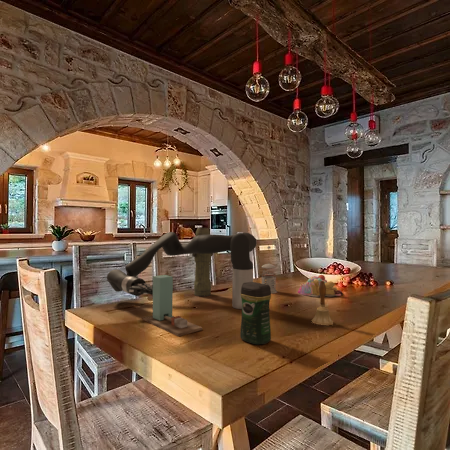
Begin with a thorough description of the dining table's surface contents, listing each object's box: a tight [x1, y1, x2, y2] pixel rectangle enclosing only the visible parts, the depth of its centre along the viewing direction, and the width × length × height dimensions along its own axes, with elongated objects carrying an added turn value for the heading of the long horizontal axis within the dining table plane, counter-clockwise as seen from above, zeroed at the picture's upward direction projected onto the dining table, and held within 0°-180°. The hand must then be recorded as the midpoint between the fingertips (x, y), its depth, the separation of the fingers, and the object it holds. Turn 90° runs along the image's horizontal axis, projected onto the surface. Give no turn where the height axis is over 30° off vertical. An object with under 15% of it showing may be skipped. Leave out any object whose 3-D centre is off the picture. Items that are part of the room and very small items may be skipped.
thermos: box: [191, 227, 214, 297], centre depth 170 cm, size 9×12×35 cm
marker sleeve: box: [152, 274, 174, 321], centre depth 124 cm, size 5×6×16 cm
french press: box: [261, 246, 278, 294], centre depth 178 cm, size 10×12×25 cm
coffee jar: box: [239, 281, 272, 345], centre depth 104 cm, size 10×8×19 cm
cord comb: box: [142, 315, 203, 337], centre depth 119 cm, size 24×10×4 cm, turn 43°
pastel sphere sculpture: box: [297, 274, 344, 298], centre depth 177 cm, size 25×24×9 cm
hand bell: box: [310, 281, 334, 325], centre depth 123 cm, size 8×8×16 cm
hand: (154, 292), depth 128 cm, fingers closed
